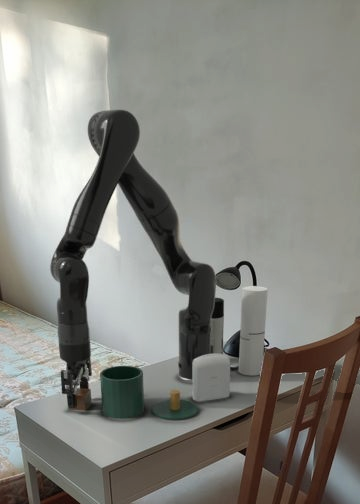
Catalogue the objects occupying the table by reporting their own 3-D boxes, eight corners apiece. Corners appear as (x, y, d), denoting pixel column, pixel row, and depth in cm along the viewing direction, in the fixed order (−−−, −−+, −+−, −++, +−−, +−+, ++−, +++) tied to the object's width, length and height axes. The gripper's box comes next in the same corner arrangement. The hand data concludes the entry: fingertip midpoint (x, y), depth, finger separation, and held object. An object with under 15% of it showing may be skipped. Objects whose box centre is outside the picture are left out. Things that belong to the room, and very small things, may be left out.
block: (75, 404, 138) (73, 387, 137) (92, 405, 138) (90, 388, 136) (68, 411, 134) (66, 394, 132) (85, 412, 133) (84, 395, 132)
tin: (126, 400, 141) (124, 362, 136) (152, 412, 134) (151, 372, 130) (94, 411, 134) (91, 372, 130) (119, 424, 127) (117, 383, 123)
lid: (176, 400, 141) (176, 380, 138) (207, 412, 133) (207, 391, 131) (143, 412, 133) (142, 391, 131) (174, 426, 126) (174, 404, 124)
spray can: (225, 364, 167) (227, 301, 159) (205, 366, 165) (206, 302, 157) (218, 357, 173) (219, 296, 165) (198, 359, 171) (199, 297, 163)
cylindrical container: (261, 376, 157) (266, 291, 147) (237, 374, 158) (241, 290, 148) (262, 368, 163) (268, 286, 153) (239, 366, 165) (243, 285, 155)
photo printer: (195, 404, 138) (195, 359, 133) (189, 398, 142) (190, 354, 137) (231, 399, 141) (233, 354, 136) (225, 393, 145) (226, 349, 140)
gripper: (78, 348, 121) (82, 413, 128) (98, 332, 134) (102, 391, 141) (47, 346, 123) (53, 410, 129) (70, 330, 136) (75, 389, 142)
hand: (78, 400), depth 135 cm, fingers open, 8 cm apart
